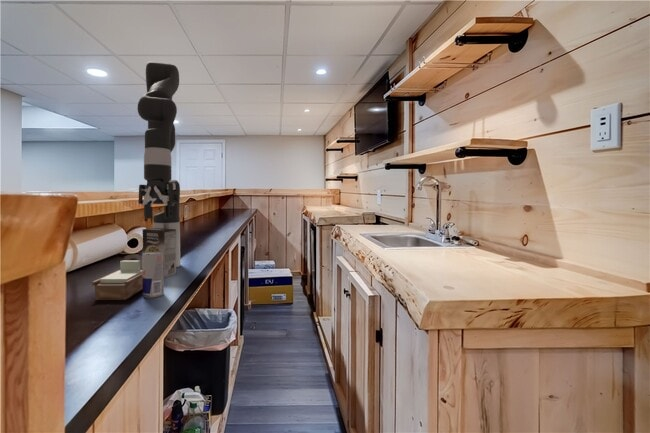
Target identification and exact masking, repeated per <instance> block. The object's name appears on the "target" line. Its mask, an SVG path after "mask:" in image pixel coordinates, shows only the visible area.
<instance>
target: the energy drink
mask: <svg viewBox="0 0 650 433" xmlns="http://www.w3.org/2000/svg"><path fill="white" fill-rule="evenodd" d="M141 270H142V279H143V289H142V296H143V297H144V298H147V299H148V298H149V299H155V298H159V297H162V296H164V294H165V290H164V288H165V284H164V282H165V281H164V275H163V254H162V252H146V253H143V252H142V256H141Z"/></svg>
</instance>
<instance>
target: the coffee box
mask: <svg viewBox="0 0 650 433" xmlns="http://www.w3.org/2000/svg"><path fill="white" fill-rule="evenodd" d="M146 252H162V254H163V275H164V278H167V277H170V276H171V277H172V276H174V275H177V267H176V229H165V228H153V227H152V228H142V254H143V253H146Z"/></svg>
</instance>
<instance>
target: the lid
mask: <svg viewBox="0 0 650 433" xmlns="http://www.w3.org/2000/svg"><path fill="white" fill-rule="evenodd" d="M119 267H120V269H119V271H118V270H116V271H117V272H115V271H114V272H115V273H113V272H112V273H113V274H111V273H109V274H110V275H109V274H107V275H108V276H106V275H105V276H106V277H104V276H103V277H104V278H102V277H101V278H102V279H100V278H99V279H100V283H125V282H126V281H128V280H130V279H131V278H133V277H135V276H137V275H139V274H141V273H142V269H141V260H129V259H127V260H120V262H119Z"/></svg>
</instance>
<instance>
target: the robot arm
mask: <svg viewBox="0 0 650 433" xmlns="http://www.w3.org/2000/svg"><path fill="white" fill-rule="evenodd" d="M145 84H146V86H145V87H146V93H145V94H143V95H141V97H140V99H139V100H138V103H137V114H138V115H139V117H140V118H141V119H142V120H144V121H146V122H147V129H146V130H145V132H144V153H143V178H144V181H146V184H139V185H138V204H140V205H142V206H143V216H144V219H152V222H153V224H152V225H153V227H152V228H165V229H176V268H179V267H181V229H180V228H181V225H180V224H181V223H180V219H181V218H180V216H181V215H180V200H181V187H180V186H181V185H180V183H179V181H178V180H177V179H172V151H173V150H174V149H175V147H176V126H175V125H174V123H175V120H176V118H177V111H178V109H177V104H176V103H175V102H174V101H173V97H174V95H175V94H176V92H177V91H178V89H179V86H180V72H179V69H178V67H177V66H176V65H175V64H172V63H165V62H158V61H157V62H156V61H148V62H147V63H146V65H145ZM143 198H144V199H143ZM152 205H163V207H164V211H161V212H159V213H155V214H154V215H153V206H152Z"/></svg>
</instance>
